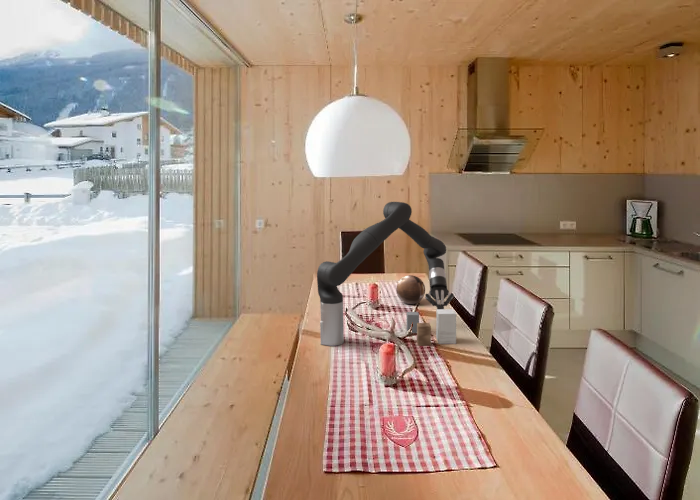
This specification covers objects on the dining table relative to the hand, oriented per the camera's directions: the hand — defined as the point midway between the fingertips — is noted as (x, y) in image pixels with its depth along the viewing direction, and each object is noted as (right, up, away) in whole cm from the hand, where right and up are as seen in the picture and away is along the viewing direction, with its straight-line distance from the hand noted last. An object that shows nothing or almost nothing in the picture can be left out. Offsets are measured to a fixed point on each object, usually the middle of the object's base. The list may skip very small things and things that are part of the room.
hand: (441, 313), depth 229 cm
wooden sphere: (-8, -1, +49) cm, 50 cm away
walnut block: (-10, -10, -15) cm, 21 cm away
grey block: (-12, -8, +2) cm, 15 cm away
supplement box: (0, -10, -12) cm, 16 cm away
